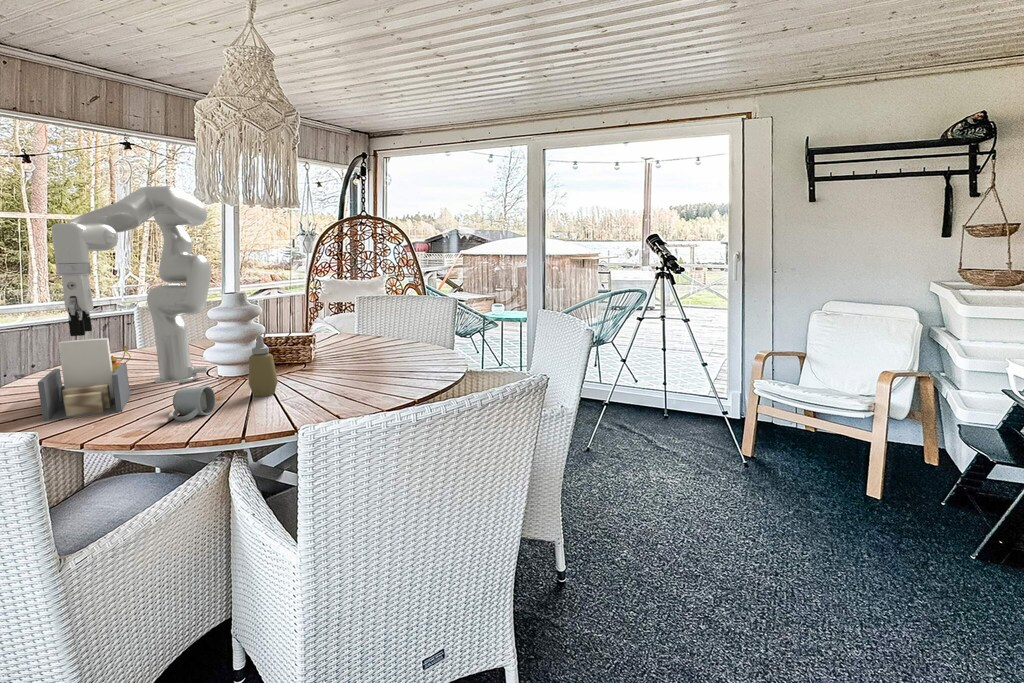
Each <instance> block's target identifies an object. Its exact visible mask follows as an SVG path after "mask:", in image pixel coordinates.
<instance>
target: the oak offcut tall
mask: <svg viewBox="0 0 1024 683" xmlns="http://www.w3.org/2000/svg"><path fill="white" fill-rule="evenodd" d="M100 391H103V398H104V406H105V408H110V407H111V405H112V404H111V397H110V389H109V384H104V385H94V386H84V387H74V388H65V389H64V390H62V394H63V400H64V397H65V396H66V395H71V394H80V393H90V392H100ZM64 407H65V402H64ZM65 413H66V409H65Z"/></svg>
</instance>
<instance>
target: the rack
mask: <svg viewBox="0 0 1024 683" xmlns="http://www.w3.org/2000/svg"><path fill="white" fill-rule="evenodd" d="M120 363H121V364H120V365H119V367H118V368H117V369H116V371H115V372H114V373H113V374H112V380H113V388H114V395H115V398H111V404H112V405H111V407H110V408H105V410H104V411H103V412H99V413H90V414H82V415H73V416H66V413H65V407H64V400H63V394H62V390H64V389H65V387H64V385H63V381H62V375H61V374H62V373H61V368H54V369H52V370H51V371H50V372H49V373H47V374H46V375H45V376H43V377H42V378H41V379H40V380H39V381H37V386H38V393H39V394H38V395H39V401H40V406H41V407H40V408H41V414H42V420H43V421H44V422H46V421H54V420H63V419H70V418H79V417H89V416H95V415H96V416H97V415H105V414H106V415H107V414H115V413H122V412H123V411H124V409H125V407H126V406H127V403H128V401H129V400H130V398H131V390H130V382H129V373H128V367H127V362H126V363H124V362H120Z"/></svg>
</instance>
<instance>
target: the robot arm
mask: <svg viewBox="0 0 1024 683" xmlns="http://www.w3.org/2000/svg"><path fill="white" fill-rule="evenodd" d="M152 217H153V219H154V220H155V223H156V224H157V226H158V227H159V229H160V231H161V234H162V236H163V246H162V250H161V251H162V252H161V257H160V261H159V267H158V275H159V278H160V279H161V280H162V281H163V282H165V283H170V284H172V285H168V284H167V285H166V284H165V285H158V286H155V287H153V288H152V289H150V290H149V291H148V293H147V295H146V296H147V297H146V303H147V307H148V310H149V313H150V315H151V319H152V324H153V332H154V339H155V348H156V357H157V364H158V373H159V376H157V377H155V378H154V383H155V384H164V383H174V382H179V384H184V383H188V382H193V381H195V380H196V379H198V374H204V373H208V372H207V371H208V370H207V366H197V367H196V366H193V365H194V364H193V363H192V361H191V352H190V342H189V334H188V326H187V324H186V322H185V320H184V318H183V317H182V316H184V315H185V316H190V315H192V316H193V315H199V314H200V313H202V311H204V309H205V307H206V304H207V299H208V293H209V288H210V283H211V276H212V268H211V264H210V261H209V260H208V258H206V257H205V256H204V255H202V254H196V253H194V254H193V245H194V244H193V240H192V237H191V236H190V234H189V233H188V232H187V231H186V228H185V227H196V226H197V227H198V226H200V225H203V224H204V223H205V222H206V221H207V218H208V211H207V207H206V206H205V205H204V204H203V202H202V201H200V200H199V199H197V198H196V197H194V196H192V195H191V194H189V193H187V192H185V191H183V190H181V189H179V188H176V187H173V186H169V185H168V186H165V185H164V186H163V185H161V186H159V185H158V186H156V185H155V186H143V187H140V188H137V189H135V191H133V192H131V193H130V194H128V195H126V196H125V197H123V198H121V199H119V200H118V201H117V202H115V203H112V204H109V205H105V206H104V207H101V208H97V209H94V210H91V211H89V212H86V213H83V214H81V215H78V216H77V217H74V218H73V219H71V220H70V221H67V222H60V223H58V222H57V223H54V224H52V226H51V238H52V244H53V253H54V261H55V269H56V276H57V277H61V279H62V291H63V300H64V308H65V312H66V313H68V328H69V335H70V336H71V337H79V336H80V337H81V336H83V337H84V336H85V335H86V332H92V330H93V328H92V327H93V326H92V320H91V315H90V314H91V313H90V312H91V311H93V309H94V301H93V296H92V291H91V290H92V289H91V284H90V280H89V279H90V278H89V276H92V268H91V261H90V252H103V251H109V250H111V249H113V248H115V247H116V246H117V244H118V242H119V235H118V233H123V232H127V231H131V230H134V229H137V228H138V227H140V226H141V225H142V224H144V223H145V222H146V221H148V220H149V219H151V218H152ZM173 284H177V285H173ZM178 284H185V285H178Z"/></svg>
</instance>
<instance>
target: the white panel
mask: <svg viewBox="0 0 1024 683" xmlns="http://www.w3.org/2000/svg"><path fill="white" fill-rule="evenodd" d="M57 345H58V352H59V359H60V366H61V372H62V373H61V374H62V379H63V386H64V387H65V388H74V387H84V386H94V385H104V384H109V389H110V397H111V398H115V395H114V388H113V380H112V374H113V369H112V361H111V356H112V355H111V348H110V340H109V337H102V338H89V339H88V338H87V339H75V340H61V341H59V342H57Z"/></svg>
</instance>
